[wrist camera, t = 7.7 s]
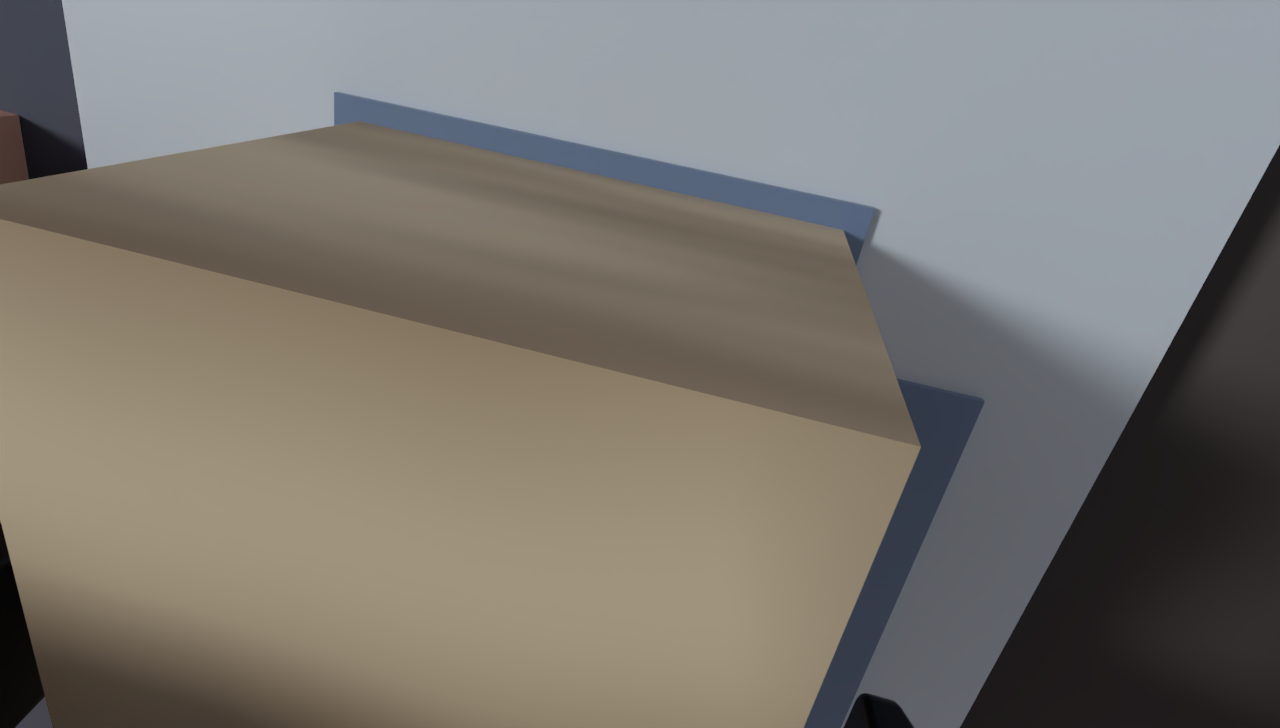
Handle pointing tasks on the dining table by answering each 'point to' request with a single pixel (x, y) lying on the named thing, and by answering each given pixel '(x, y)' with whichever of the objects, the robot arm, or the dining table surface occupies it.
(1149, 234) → the blueprint board
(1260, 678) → the dining table surface
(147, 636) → the brick
